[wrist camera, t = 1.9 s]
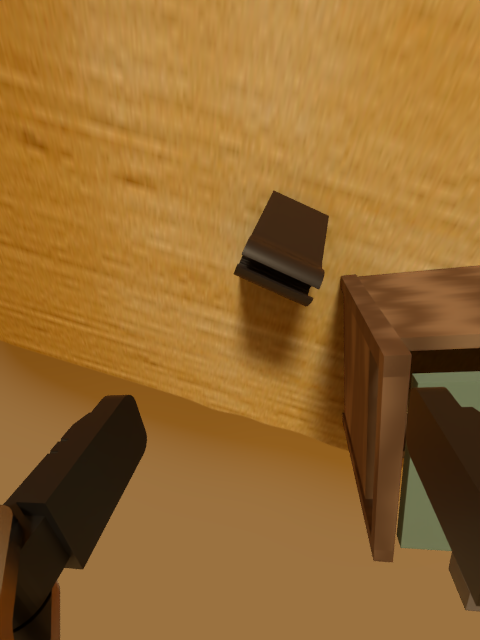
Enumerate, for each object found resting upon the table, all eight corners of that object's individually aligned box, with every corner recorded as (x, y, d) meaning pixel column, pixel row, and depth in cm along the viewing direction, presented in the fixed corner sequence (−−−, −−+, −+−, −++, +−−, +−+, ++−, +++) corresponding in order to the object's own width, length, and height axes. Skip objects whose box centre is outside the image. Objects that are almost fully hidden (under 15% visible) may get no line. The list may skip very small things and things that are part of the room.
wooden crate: (561, 255, 29) (842, 335, 14) (516, 420, 37) (668, 581, 22) (341, 275, 33) (384, 355, 18) (342, 421, 41) (373, 560, 26)
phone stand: (287, 292, 35) (287, 344, 24) (239, 270, 34) (216, 312, 24) (328, 215, 31) (350, 235, 20) (274, 189, 30) (266, 196, 20)
